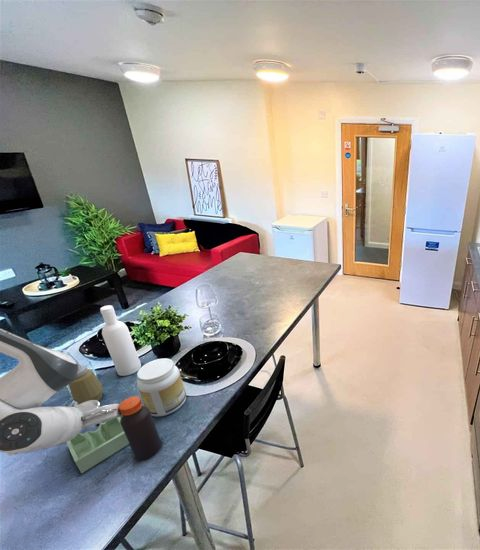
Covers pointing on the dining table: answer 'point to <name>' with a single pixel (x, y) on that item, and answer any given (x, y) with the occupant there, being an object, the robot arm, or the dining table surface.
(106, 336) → the bottle
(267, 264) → the dining table surface
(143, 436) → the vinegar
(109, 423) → the tote
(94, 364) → the dining table surface
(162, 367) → the supplement tub
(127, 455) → the dining table surface
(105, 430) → the beer glass
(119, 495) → the dining table surface
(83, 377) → the squeeze bottle
